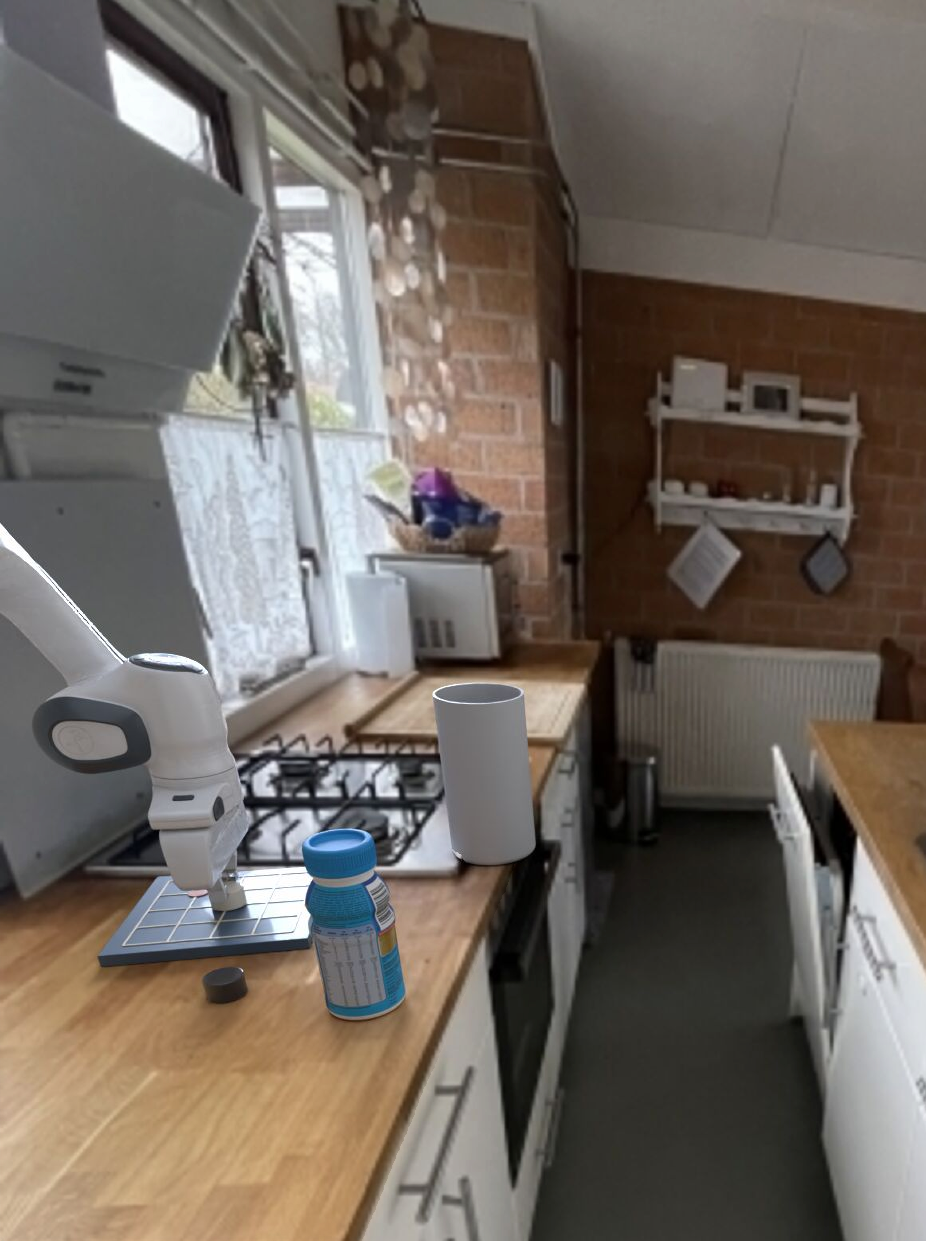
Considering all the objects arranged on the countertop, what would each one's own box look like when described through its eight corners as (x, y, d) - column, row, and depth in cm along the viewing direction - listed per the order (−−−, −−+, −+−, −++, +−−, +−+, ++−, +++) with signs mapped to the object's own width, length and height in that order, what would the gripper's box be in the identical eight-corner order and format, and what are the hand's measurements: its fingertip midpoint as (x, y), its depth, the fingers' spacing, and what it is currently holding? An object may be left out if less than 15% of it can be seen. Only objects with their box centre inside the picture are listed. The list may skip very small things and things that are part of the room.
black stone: (202, 1005, 97) (197, 987, 96) (212, 986, 100) (207, 968, 99) (243, 1001, 98) (238, 983, 97) (251, 982, 102) (247, 964, 101)
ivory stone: (207, 912, 112) (203, 895, 111) (215, 898, 116) (211, 882, 115) (243, 909, 113) (239, 893, 112) (250, 896, 117) (246, 879, 116)
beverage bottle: (344, 1032, 94) (309, 863, 85) (313, 999, 99) (278, 836, 90) (420, 1004, 100) (396, 842, 91) (388, 974, 105) (361, 818, 96)
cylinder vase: (510, 872, 132) (494, 708, 121) (435, 860, 134) (413, 697, 123) (550, 841, 143) (539, 688, 132) (480, 830, 145) (464, 679, 134)
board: (100, 967, 103) (96, 954, 102) (160, 886, 121) (156, 875, 120) (310, 948, 109) (307, 936, 108) (336, 874, 128) (333, 864, 127)
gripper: (193, 764, 115) (218, 860, 121) (141, 822, 98) (173, 930, 104) (248, 762, 117) (269, 857, 123) (206, 818, 100) (234, 925, 106)
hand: (225, 891), depth 114 cm, fingers closed on ivory stone, 4 cm apart
